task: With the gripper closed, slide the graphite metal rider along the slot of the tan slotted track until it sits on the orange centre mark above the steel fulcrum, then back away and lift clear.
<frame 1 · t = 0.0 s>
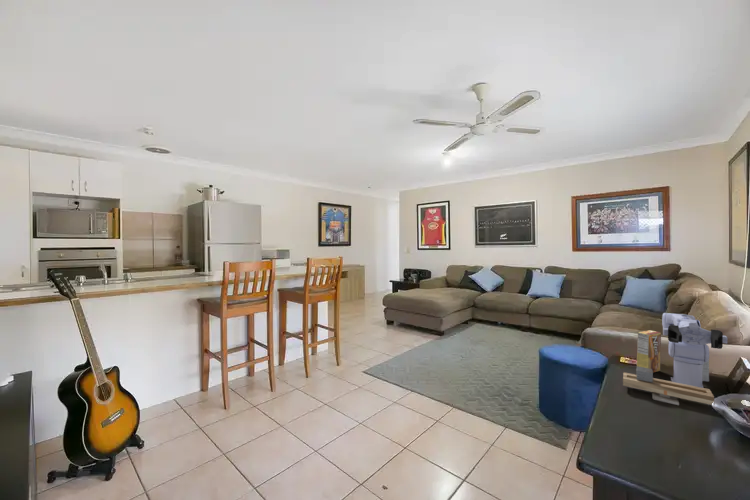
hand: (697, 341, 96), 20 cm above the table, tool horizontal, fingers open, 7 cm apart
rider: (644, 375, 106), point 6 cm above the table, slide at -5.0 cm
candy box: (648, 371, 125), on the table
supplement box: (694, 380, 119), on the table, touching arm
tan slotted track: (664, 397, 102), on the table
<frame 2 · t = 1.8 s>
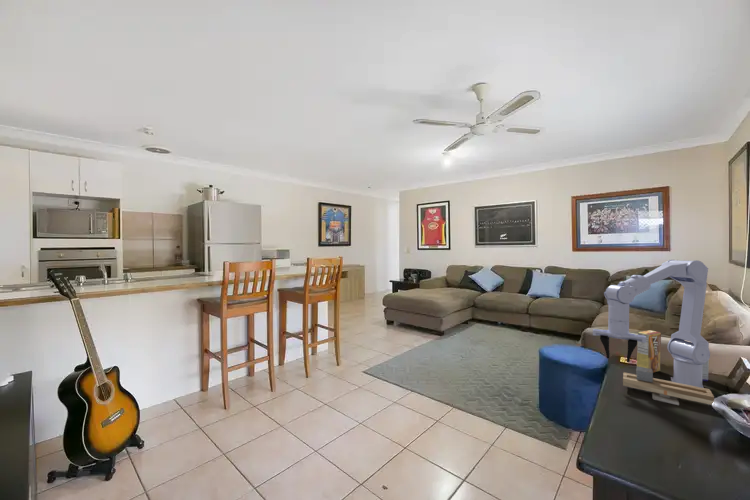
hand: (618, 359, 110), 9 cm above the table, tool pointing down, fingers open, 5 cm apart
supplement box: (693, 378, 119), on the table
everything else where it was.
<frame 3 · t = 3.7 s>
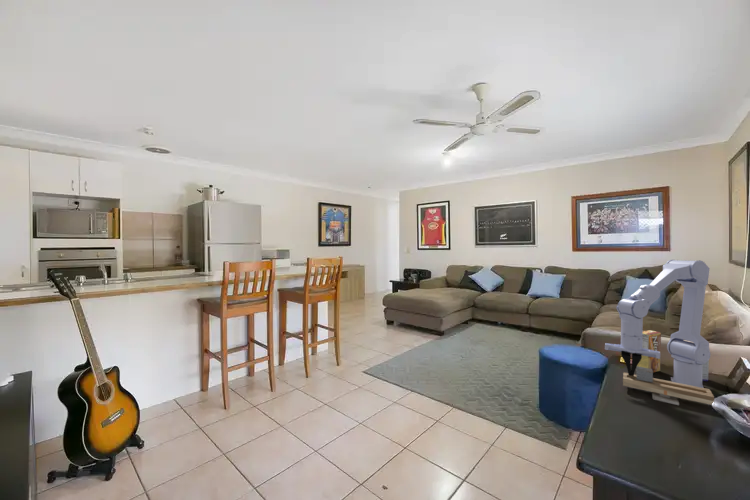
hand: (631, 374, 108), 5 cm above the table, tool pointing down, fingers closed
rider: (644, 375, 106), point 6 cm above the table, slide at -5.0 cm, touching gripper
everything else where it was.
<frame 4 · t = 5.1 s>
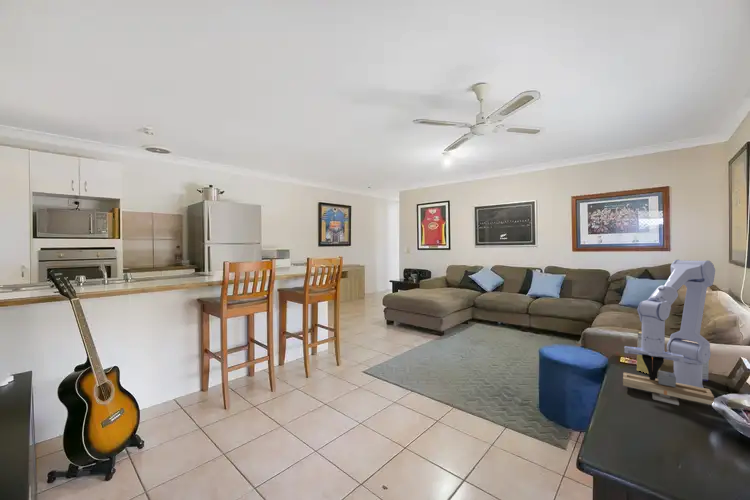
hand: (652, 379, 104), 5 cm above the table, tool pointing down, fingers closed
rider: (666, 380, 102), point 6 cm above the table, slide at 0.4 cm, touching gripper
everything else where it was.
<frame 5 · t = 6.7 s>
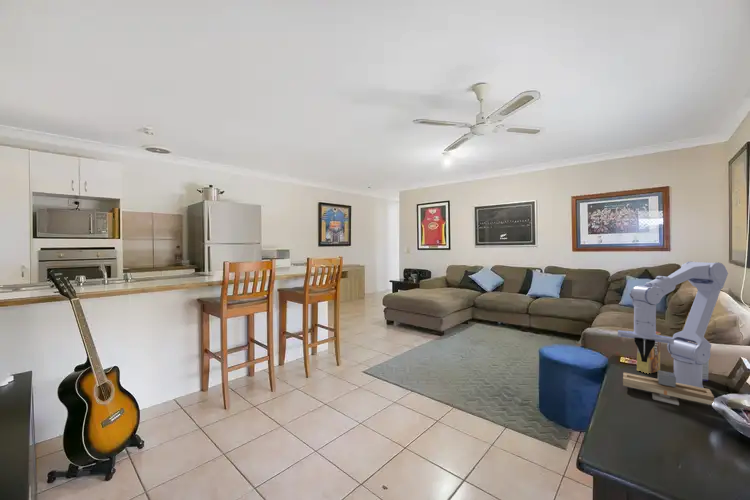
hand: (644, 361, 109), 9 cm above the table, tool pointing down, fingers closed
rider: (666, 380, 102), point 6 cm above the table, slide at 0.4 cm
everything else where it was.
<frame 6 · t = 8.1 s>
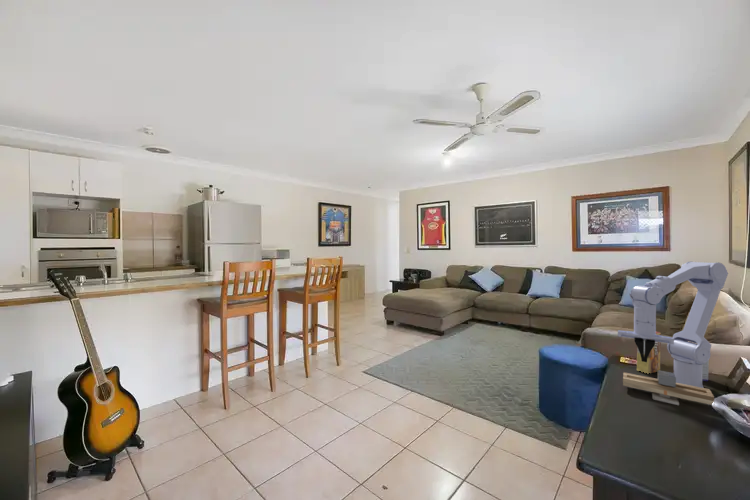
hand: (644, 361, 109), 9 cm above the table, tool pointing down, fingers closed
nothing on the table moved.
at the end: rider slide at 0.4 cm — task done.
